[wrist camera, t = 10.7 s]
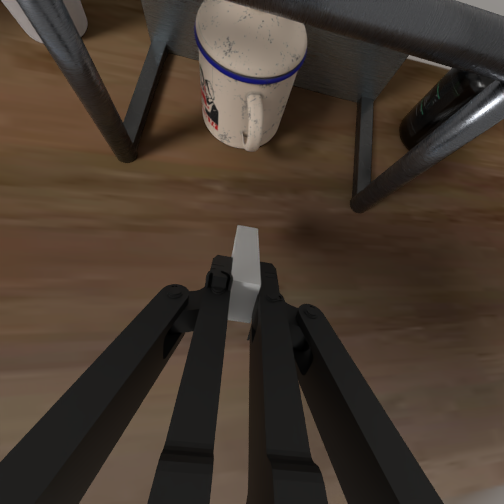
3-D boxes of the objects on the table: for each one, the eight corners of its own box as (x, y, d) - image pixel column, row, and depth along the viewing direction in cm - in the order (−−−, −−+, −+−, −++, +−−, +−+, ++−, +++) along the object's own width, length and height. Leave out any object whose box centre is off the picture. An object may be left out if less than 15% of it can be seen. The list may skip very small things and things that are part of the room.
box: (113, 160, 24) (-100, -156, 8) (154, 41, 28) (71, -330, 12) (366, 214, 27) (599, 66, 11) (370, 99, 31) (543, -137, 15)
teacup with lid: (198, 82, 28) (187, -73, 17) (275, 86, 29) (313, -53, 18) (203, 176, 25) (194, 69, 14) (288, 176, 27) (340, 78, 15)
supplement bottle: (454, 138, 32) (592, 39, 20) (431, 171, 30) (568, 83, 18) (413, 105, 32) (525, -11, 20) (387, 136, 30) (495, 27, 18)
